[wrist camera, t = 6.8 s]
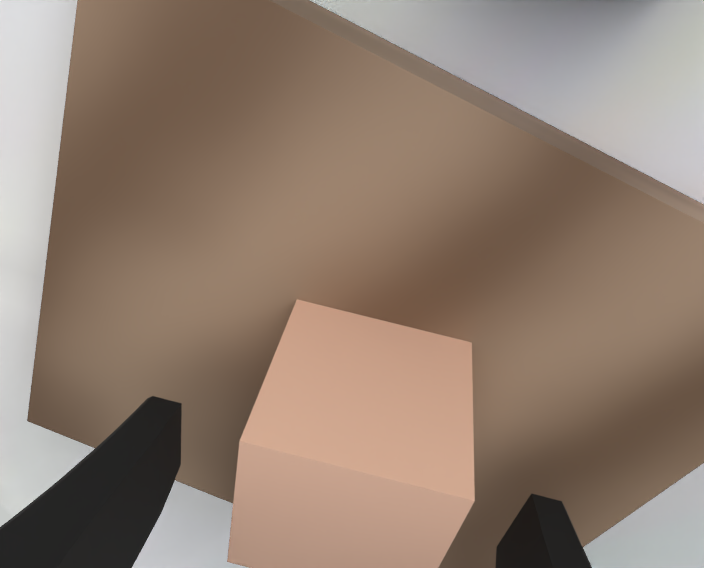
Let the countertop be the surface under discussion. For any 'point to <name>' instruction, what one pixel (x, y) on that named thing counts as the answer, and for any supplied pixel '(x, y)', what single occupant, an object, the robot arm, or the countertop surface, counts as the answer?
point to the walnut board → (360, 253)
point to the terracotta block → (355, 447)
